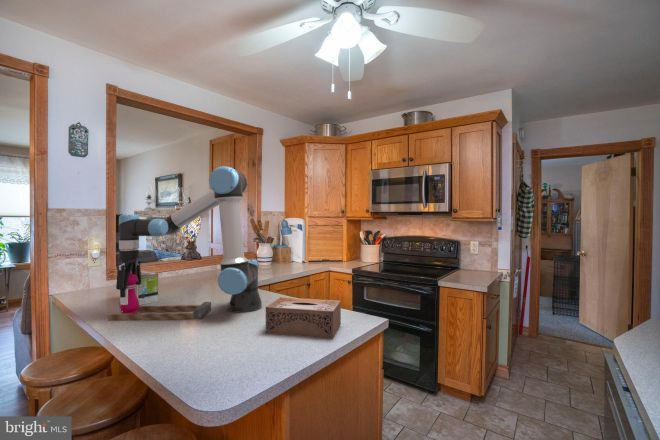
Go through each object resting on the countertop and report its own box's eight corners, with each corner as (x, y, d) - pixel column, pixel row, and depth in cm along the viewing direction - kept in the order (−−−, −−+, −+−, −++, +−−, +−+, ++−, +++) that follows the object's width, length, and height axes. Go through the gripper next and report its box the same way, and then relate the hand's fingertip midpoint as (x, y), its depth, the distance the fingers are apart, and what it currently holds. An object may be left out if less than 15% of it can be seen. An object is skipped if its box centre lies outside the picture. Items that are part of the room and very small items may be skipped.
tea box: (159, 301, 162) (159, 272, 162) (138, 306, 154) (138, 275, 153) (143, 297, 170) (143, 270, 170) (123, 301, 162) (123, 272, 162)
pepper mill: (125, 313, 142) (125, 269, 141) (142, 313, 142) (142, 268, 142) (116, 318, 134) (115, 271, 134) (133, 318, 135) (133, 271, 135)
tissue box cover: (265, 333, 118) (265, 306, 118) (280, 321, 132) (280, 297, 132) (333, 339, 112) (333, 311, 112) (340, 325, 126) (340, 300, 126)
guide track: (211, 310, 146) (211, 301, 146) (200, 319, 133) (200, 310, 133) (126, 311, 145) (126, 302, 144) (108, 320, 132) (108, 311, 132)
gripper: (133, 247, 148) (134, 296, 148) (104, 252, 128) (105, 308, 128) (150, 247, 148) (150, 296, 148) (124, 252, 128) (124, 308, 128)
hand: (129, 301), depth 138 cm, fingers open, 7 cm apart
